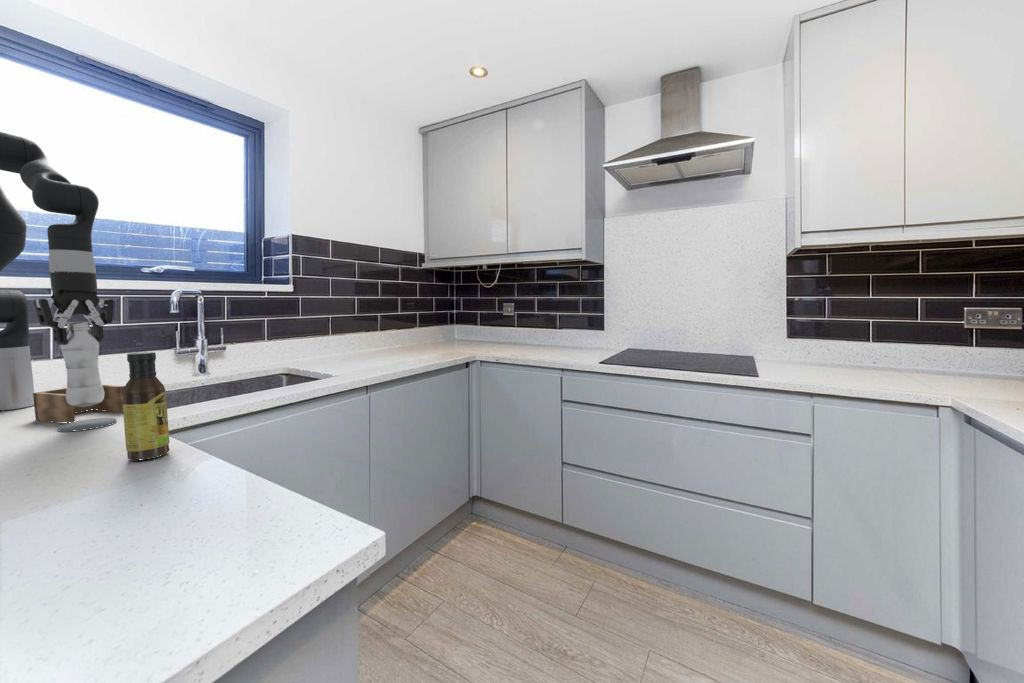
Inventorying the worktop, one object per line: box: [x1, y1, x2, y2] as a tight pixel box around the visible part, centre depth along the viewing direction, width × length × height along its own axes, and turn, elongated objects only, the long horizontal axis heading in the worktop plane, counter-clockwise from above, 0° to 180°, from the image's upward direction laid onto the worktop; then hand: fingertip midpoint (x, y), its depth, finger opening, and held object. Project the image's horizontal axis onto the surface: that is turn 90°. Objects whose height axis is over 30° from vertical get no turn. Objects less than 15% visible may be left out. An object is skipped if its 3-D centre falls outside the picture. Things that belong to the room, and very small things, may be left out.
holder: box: [33, 384, 125, 423], centre depth 111 cm, size 12×12×7 cm
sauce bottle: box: [123, 351, 170, 461], centre depth 80 cm, size 6×6×20 cm
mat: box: [57, 417, 117, 432], centre depth 102 cm, size 10×10×1 cm
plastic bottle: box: [59, 321, 105, 407], centre depth 101 cm, size 6×7×20 cm
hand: (80, 342), depth 100 cm, fingers closed on plastic bottle, 6 cm apart
